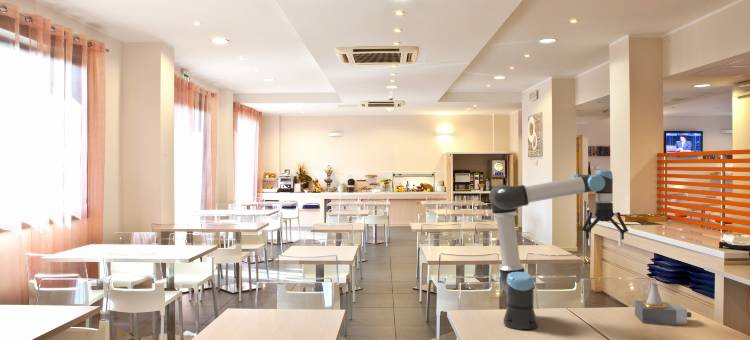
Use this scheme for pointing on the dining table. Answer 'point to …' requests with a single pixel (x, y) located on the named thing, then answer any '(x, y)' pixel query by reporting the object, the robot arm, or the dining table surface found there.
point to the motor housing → (661, 313)
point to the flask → (654, 296)
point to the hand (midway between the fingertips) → (604, 246)
